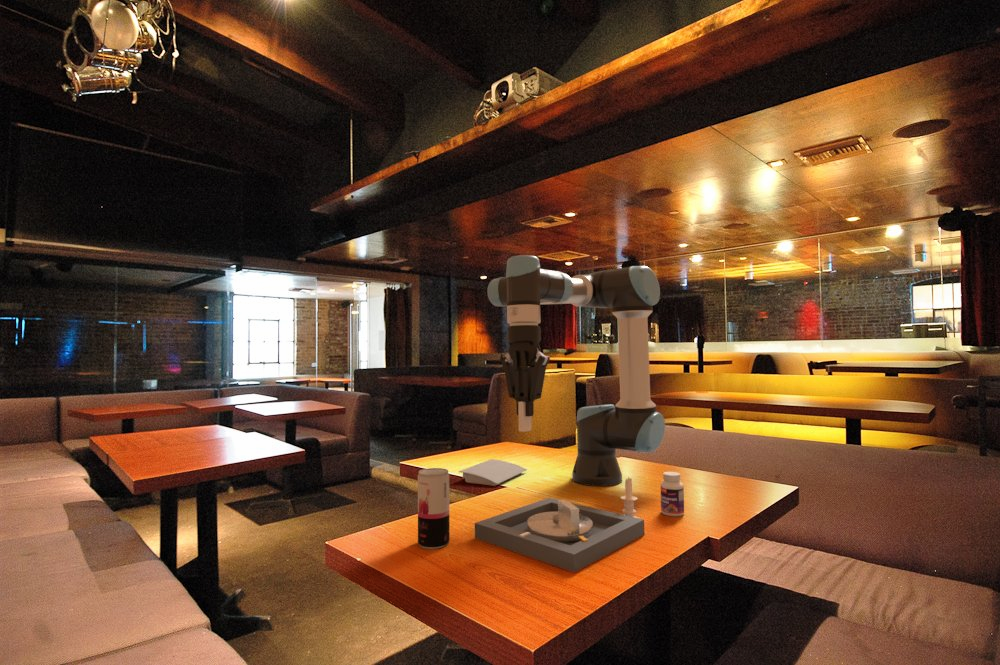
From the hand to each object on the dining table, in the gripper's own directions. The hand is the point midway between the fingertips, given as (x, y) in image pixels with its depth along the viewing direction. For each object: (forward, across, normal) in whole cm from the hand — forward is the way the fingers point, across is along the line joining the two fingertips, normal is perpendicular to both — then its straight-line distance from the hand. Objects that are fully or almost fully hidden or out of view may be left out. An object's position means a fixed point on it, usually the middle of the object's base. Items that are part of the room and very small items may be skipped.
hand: (525, 430), depth 114 cm
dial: (+21, +8, +3) cm, 23 cm away
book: (+23, -42, +31) cm, 57 cm away
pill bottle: (+23, +18, +34) cm, 45 cm away
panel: (+22, +7, +3) cm, 24 cm away
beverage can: (+23, -10, -18) cm, 31 cm away
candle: (+23, +13, +22) cm, 34 cm away
